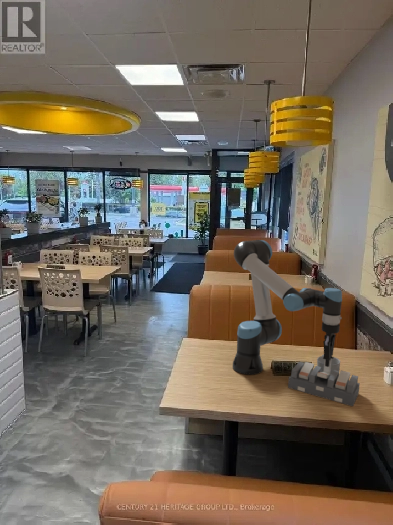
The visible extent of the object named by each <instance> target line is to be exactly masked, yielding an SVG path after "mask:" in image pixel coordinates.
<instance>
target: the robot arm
mask: <svg viewBox="0 0 393 525" xmlns="http://www.w3.org/2000/svg"><path fill="white" fill-rule="evenodd" d="M272 256H273V248H272V246H271V244H270V243H268V241H266V240H264V239H263V240H262V239H261V240H260V239H256V240H244V241H240V242H239V243H237V244H236V245H235V247H234V249H233V257H234V260H235V262H236V264H237V265H238V266H239V267H241V268H242V269H243V270H245V271H246V270H247V271H248V272H250V276H251V283H252V284H251V286H252V293H253V301H254V302H253V303H254V308H255V309H254V310H255V315H254V317H253V320H245V321H241V323H240V324H239V325H238V326H237V332H236V333H237V334H236V335H237V339H236V353H235V356H234V358H233V361H232V369H233V371H235V372H237V373H239V374H241V375H249V376H250V375H257V374H260V373H262V372H263V368H264V365H263V361H262V360H263V359H262V358H261V357H262V356H261V347H262V346H264V345H267V344H271V343H274V342H275V341H277V340H279V338H280V337H281V335H282V333H283V332H282V330H283V328H282V324H281V323H280V321H279V320H278V319H277V315H275V314H274V313H273V306H272V299H271V291H272V292H273V293H274V294H275V295H276V296H277V297H279V298H280V299H281V300H282V301H283V302H282V303H283V306H284V308H285V309H286V310H287V311H289V312H297V311H300V310H303V309H307V308H310V307H317V308H322V319H321V321H322V322H321V331H322V332H324V333H325V334H324V337H323V339H324V340H323V355H324V357H323V359H325V361H324V372H326V373H330V372H331V358H332V359H333V358H334V357H335V356H333V355H334V351H335V350H334V348H335V341H336V337H337V336H336V334H338V333H339V332H340V328H341V326H340V323H341V320H342V316H341V314H342V313H341V312H342V303H343V291H342V290H341V289H339V288H337V287H336V288H334V287H326V288H324V291H323V290H318V289H315V288H311V287H303V288H301V289H300V290H299V291H298V290H297V289H296V288H294V287H293V285H291V284H290V283H289V282H287V280H285V279H284V278H282V276H280V275H279V274H277V273H276V272H275V271H274V270H273V269H272V268H270V267H269V266H270V260H271V259H272Z"/></svg>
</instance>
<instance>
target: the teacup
mask: <svg viewBox="0 0 393 525" xmlns="http://www.w3.org/2000/svg"><path fill="white" fill-rule="evenodd" d="M323 357H324V354H322V355H320V356H318V357H317V358H316V363H317V364H316V366H319V367H321V372H324V361H325V359H323ZM333 357H334V358H333V359H332V358H331V372H330V373H329V374H332V372H333V371H334V370H335V371H339V372H340V371H341V370H340V369H341V368H340V367H341V360H340V359H339V358H337V357H335V356H333ZM325 373H326V372H325Z"/></svg>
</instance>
